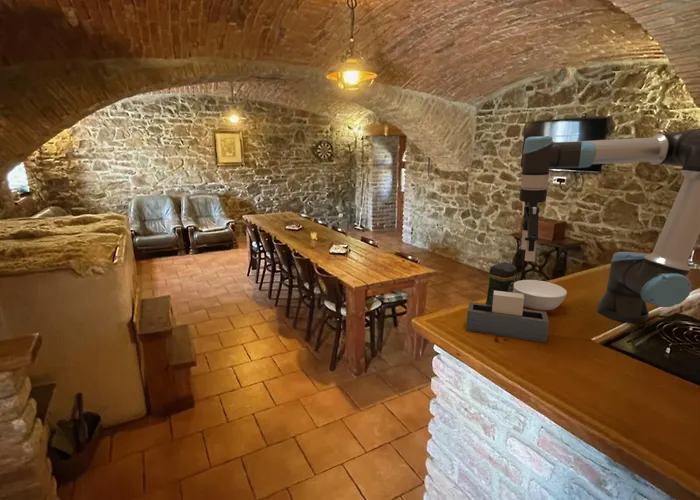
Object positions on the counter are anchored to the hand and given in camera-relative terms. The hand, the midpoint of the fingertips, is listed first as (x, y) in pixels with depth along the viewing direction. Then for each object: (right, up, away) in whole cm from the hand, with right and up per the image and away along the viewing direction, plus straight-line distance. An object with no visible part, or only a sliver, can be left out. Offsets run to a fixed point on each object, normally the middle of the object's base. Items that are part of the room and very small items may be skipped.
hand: (527, 254), depth 122 cm
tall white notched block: (-6, -24, +3) cm, 25 cm away
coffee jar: (-2, -22, +18) cm, 28 cm away
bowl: (+15, -20, +23) cm, 34 cm away
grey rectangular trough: (-6, -25, +3) cm, 26 cm away
